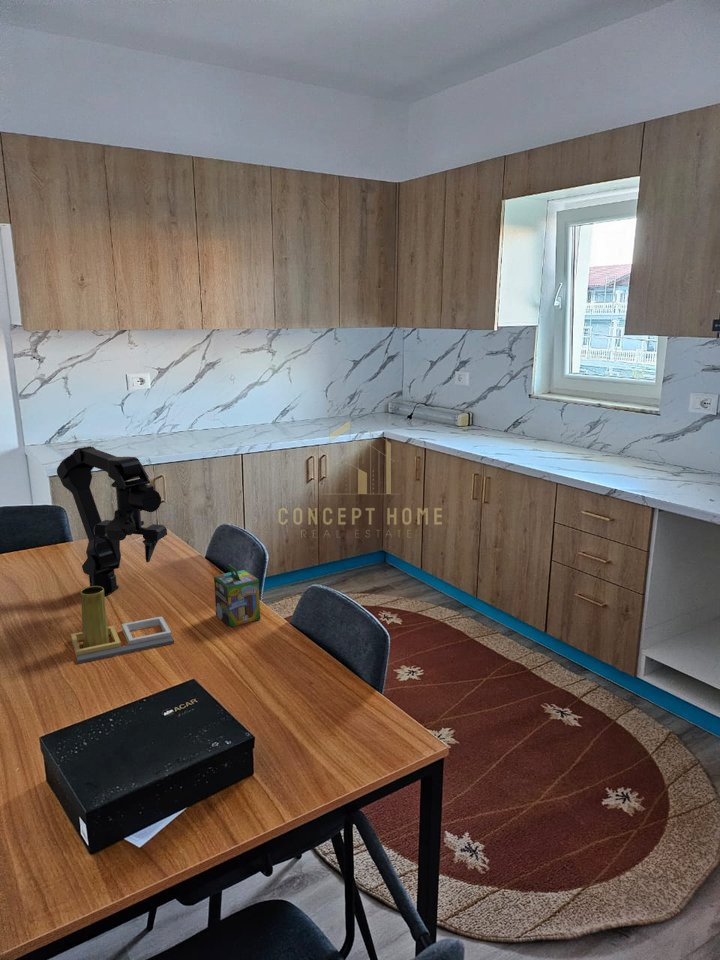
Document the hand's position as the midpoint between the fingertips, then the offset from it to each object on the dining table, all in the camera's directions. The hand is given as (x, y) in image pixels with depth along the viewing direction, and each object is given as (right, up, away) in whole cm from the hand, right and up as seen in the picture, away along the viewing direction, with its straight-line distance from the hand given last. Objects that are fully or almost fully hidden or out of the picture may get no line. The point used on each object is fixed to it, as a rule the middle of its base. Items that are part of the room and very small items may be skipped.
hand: (132, 560), depth 185 cm
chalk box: (+29, -15, -3) cm, 33 cm away
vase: (-2, -18, -19) cm, 26 cm away
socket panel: (+3, -18, -17) cm, 25 cm away
